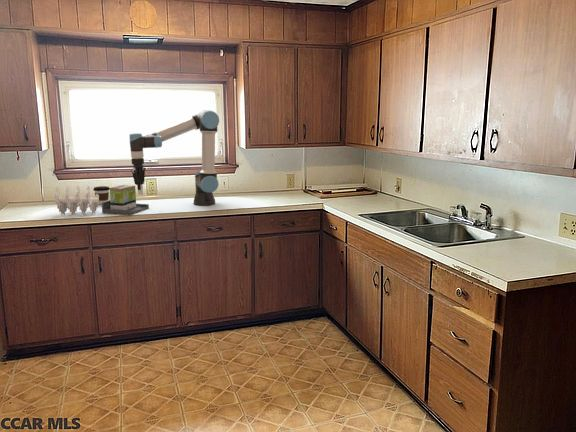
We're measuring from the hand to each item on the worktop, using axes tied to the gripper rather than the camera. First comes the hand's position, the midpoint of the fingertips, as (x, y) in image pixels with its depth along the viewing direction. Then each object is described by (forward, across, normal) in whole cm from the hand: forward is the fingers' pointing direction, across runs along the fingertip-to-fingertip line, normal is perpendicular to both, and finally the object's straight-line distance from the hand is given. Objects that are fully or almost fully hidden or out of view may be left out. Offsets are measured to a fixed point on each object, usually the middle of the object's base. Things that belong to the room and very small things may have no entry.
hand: (140, 194), depth 306 cm
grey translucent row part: (+11, +16, -36) cm, 41 cm away
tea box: (+10, +1, -13) cm, 16 cm away
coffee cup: (+11, -14, -41) cm, 45 cm away
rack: (+11, 0, -12) cm, 16 cm away
